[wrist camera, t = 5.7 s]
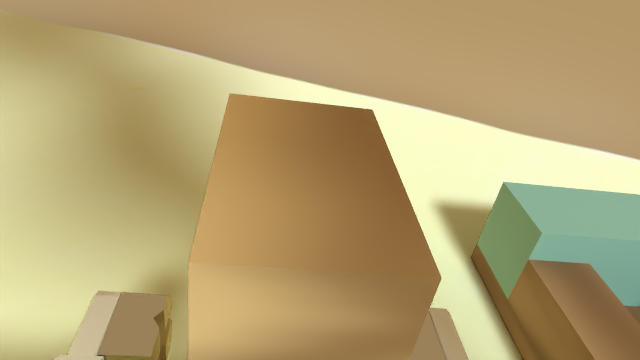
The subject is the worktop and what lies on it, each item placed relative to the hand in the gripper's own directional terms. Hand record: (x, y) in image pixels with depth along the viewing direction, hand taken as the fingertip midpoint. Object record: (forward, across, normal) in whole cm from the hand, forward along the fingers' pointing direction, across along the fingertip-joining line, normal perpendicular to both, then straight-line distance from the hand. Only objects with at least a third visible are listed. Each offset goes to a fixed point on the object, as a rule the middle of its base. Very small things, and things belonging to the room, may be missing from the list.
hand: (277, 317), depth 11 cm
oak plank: (-1, 0, +7) cm, 7 cm away
